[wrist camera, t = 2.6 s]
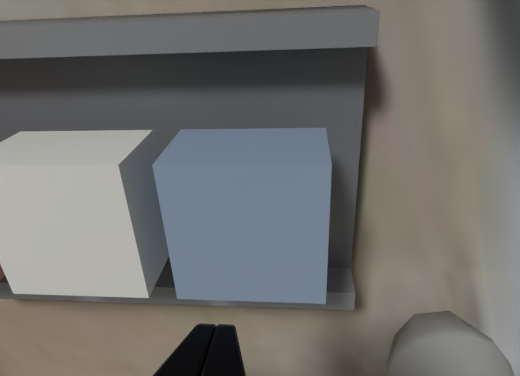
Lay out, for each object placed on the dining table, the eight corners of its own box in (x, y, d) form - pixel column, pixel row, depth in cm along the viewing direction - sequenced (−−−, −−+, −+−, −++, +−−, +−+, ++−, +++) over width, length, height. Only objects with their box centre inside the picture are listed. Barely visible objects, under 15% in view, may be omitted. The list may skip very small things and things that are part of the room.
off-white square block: (58, 244, 17) (13, 293, 14) (20, 131, 14) (-43, 165, 12) (173, 246, 16) (148, 297, 14) (153, 129, 14) (118, 165, 11)
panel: (-17, 256, 22) (-63, 296, 19) (-121, 26, 17) (-208, 35, 14) (346, 264, 20) (353, 310, 17) (364, 5, 15) (379, 11, 12)
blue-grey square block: (197, 246, 16) (177, 298, 13) (180, 129, 14) (152, 164, 11) (321, 248, 16) (325, 303, 13) (325, 127, 13) (332, 164, 11)
